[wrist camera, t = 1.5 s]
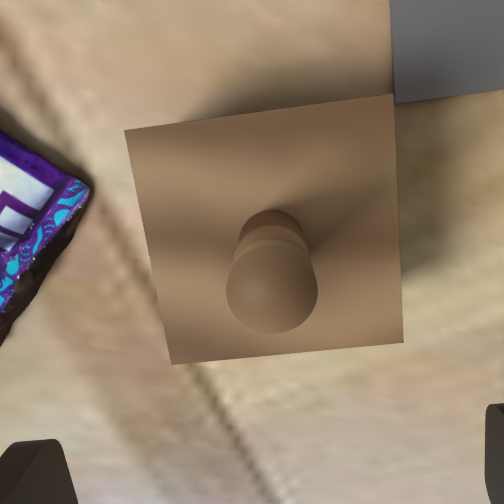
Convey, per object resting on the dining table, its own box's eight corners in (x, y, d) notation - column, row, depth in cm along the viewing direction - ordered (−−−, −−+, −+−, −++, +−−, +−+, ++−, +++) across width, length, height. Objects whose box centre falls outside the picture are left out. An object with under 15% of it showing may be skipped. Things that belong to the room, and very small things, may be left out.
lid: (129, 130, 23) (59, 135, 15) (389, 94, 22) (450, 81, 14) (174, 357, 26) (136, 451, 19) (399, 335, 25) (453, 426, 18)
